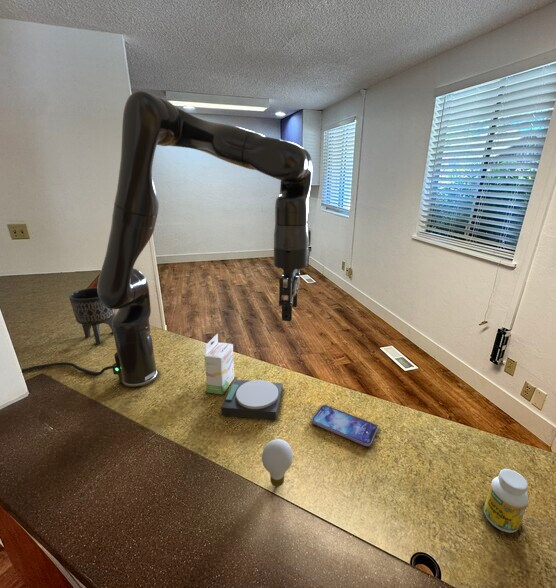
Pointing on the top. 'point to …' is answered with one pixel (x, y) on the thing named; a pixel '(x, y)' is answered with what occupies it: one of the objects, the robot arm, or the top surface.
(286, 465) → the light bulb
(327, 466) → the top surface
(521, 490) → the supplement bottle
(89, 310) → the planter
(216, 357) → the ink box
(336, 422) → the smartphone
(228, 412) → the kitchen scale
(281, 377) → the top surface
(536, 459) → the top surface
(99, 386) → the top surface
